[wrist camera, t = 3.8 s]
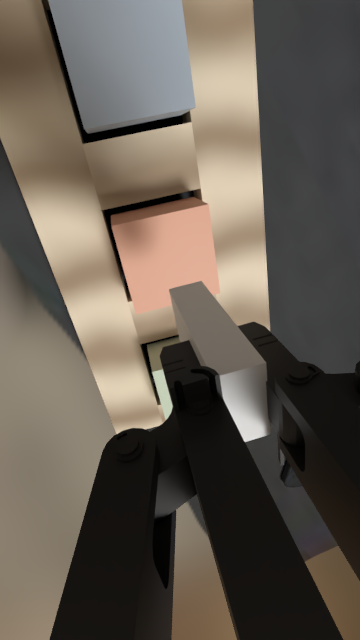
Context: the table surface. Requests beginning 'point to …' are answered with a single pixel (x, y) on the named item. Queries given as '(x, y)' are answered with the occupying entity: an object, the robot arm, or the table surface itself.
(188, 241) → the terracotta key
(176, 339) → the sage key
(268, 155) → the table surface
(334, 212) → the table surface
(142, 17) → the slate key
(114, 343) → the key console
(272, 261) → the table surface
